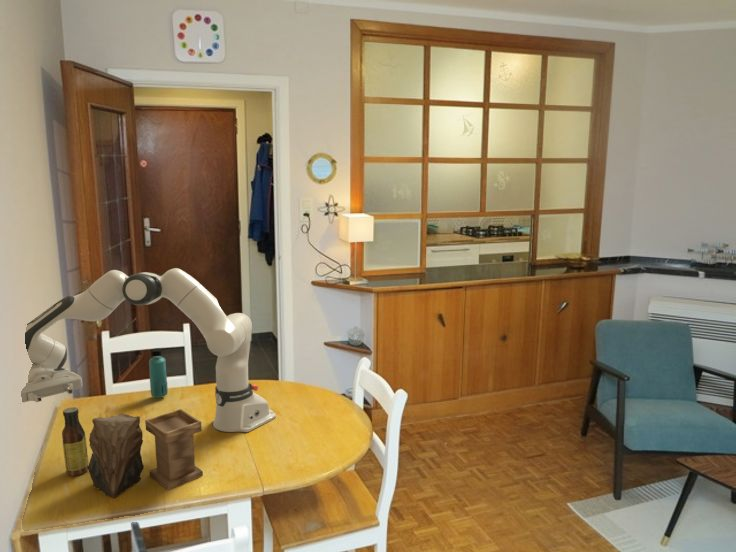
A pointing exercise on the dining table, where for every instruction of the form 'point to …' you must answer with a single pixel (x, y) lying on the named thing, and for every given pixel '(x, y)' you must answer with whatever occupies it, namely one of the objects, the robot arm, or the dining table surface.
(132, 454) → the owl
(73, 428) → the sauce bottle
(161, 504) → the dining table surface
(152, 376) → the beverage bottle
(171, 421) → the display stand
